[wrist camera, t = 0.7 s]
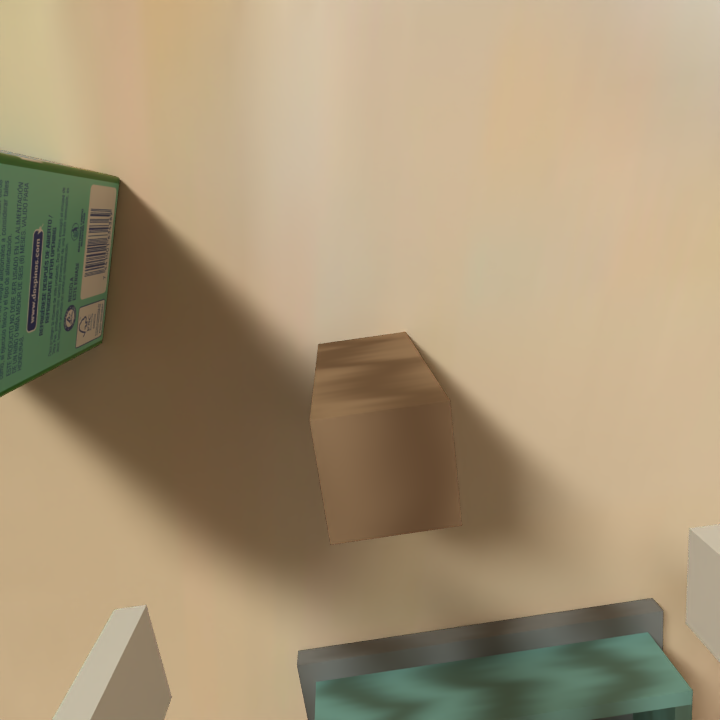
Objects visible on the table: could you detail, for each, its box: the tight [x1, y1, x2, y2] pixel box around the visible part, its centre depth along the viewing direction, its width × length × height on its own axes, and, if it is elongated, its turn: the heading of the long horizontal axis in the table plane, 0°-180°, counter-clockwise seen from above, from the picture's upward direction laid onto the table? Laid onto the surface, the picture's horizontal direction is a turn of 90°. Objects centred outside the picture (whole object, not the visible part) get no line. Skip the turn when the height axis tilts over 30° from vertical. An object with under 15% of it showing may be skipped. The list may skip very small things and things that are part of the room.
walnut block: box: [310, 332, 462, 545], centre depth 25 cm, size 5×5×12 cm
